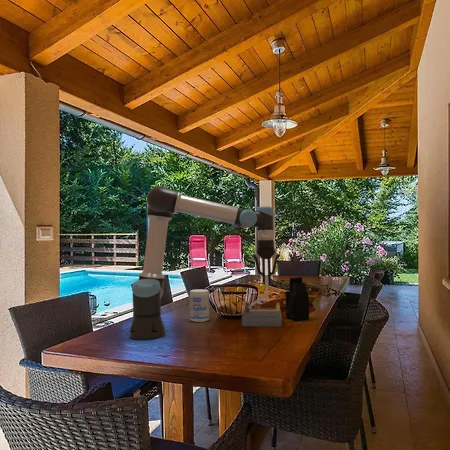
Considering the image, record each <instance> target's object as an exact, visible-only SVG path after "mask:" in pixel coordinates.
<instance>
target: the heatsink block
mask: <svg viewBox="0 0 450 450" xmlns="http://www.w3.org/2000/svg"><path fill="white" fill-rule="evenodd" d="M249 305H250V302H245V304H244V309H243V312H242V316H241V326H242V327H282V326H283V325H282V324H283V322H282V321H283V320H282V312H281V308H280V307H281V303H280V302H276V305H275V307H274V308H272V307H269V308H262V307H261V308H253V307H250V308H249V309H248V306H249Z"/></svg>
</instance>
